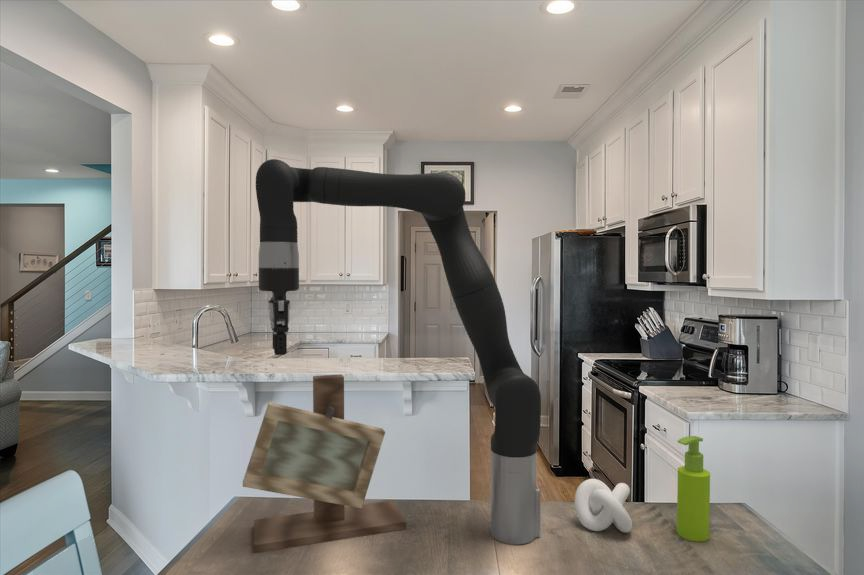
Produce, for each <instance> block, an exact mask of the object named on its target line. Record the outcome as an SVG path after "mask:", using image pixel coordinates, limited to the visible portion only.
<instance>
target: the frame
mask: <svg viewBox="0 0 864 575" xmlns="http://www.w3.org/2000/svg"><path fill="white" fill-rule="evenodd" d="M334 411H335V409H334V408H333V407H332V406H328V408H327V411H326V414H325V415H322V414H318V413H314V412H313V411H309V410H305V409H300V408H296V407H291V406H288V405H283V404H279V403H276V402H272V401H271V402H270V401H268V404H267V406H266V409H265V412H264V416H263V419H262V422H261V424H260V428H259V432H258V434H257V437H256V440H255V443H254V446H253V449H252V452H251V456H250V458H249V462H248V465H247V468H246V470H245V474H244V476H243V480H242V487H243V488H248V489H254V490H259V491H265V492H270V493H276V494H281V495H285V496H293V497H298V498H303V499H308V500H312V501H314V500H318V501H324V502H329V503H335V504H340V505H344V506H345V507H349V506H351V507H357V508H362V506H363V505H364V502H365V499H366V496H367V492H368V489H369V486H370V482H371V479H372V476H373V473H374V470H375V467H376V463H377V460H378V457H379V453H380V450H381V448H382V444H383V440H384V437H385V434H386V431H385V430H384V429H383V427H377V426H372V425H369V424H365V423H364V424H363V423H360V422H356V421H351V420H347V419H345V418H344V419H339V418H335V417H333V414H334Z"/></svg>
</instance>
